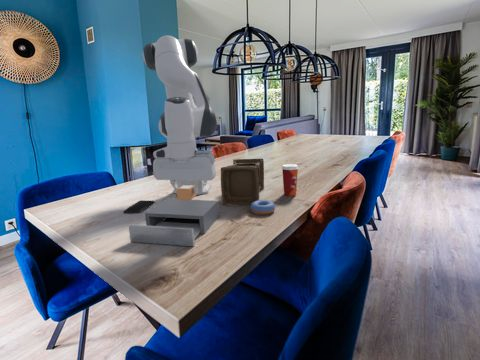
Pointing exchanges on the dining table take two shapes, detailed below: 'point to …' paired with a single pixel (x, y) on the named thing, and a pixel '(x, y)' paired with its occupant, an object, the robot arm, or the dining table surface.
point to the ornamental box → (242, 181)
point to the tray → (165, 233)
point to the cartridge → (185, 192)
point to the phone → (138, 207)
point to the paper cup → (290, 179)
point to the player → (185, 212)
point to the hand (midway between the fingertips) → (186, 192)
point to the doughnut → (262, 207)
